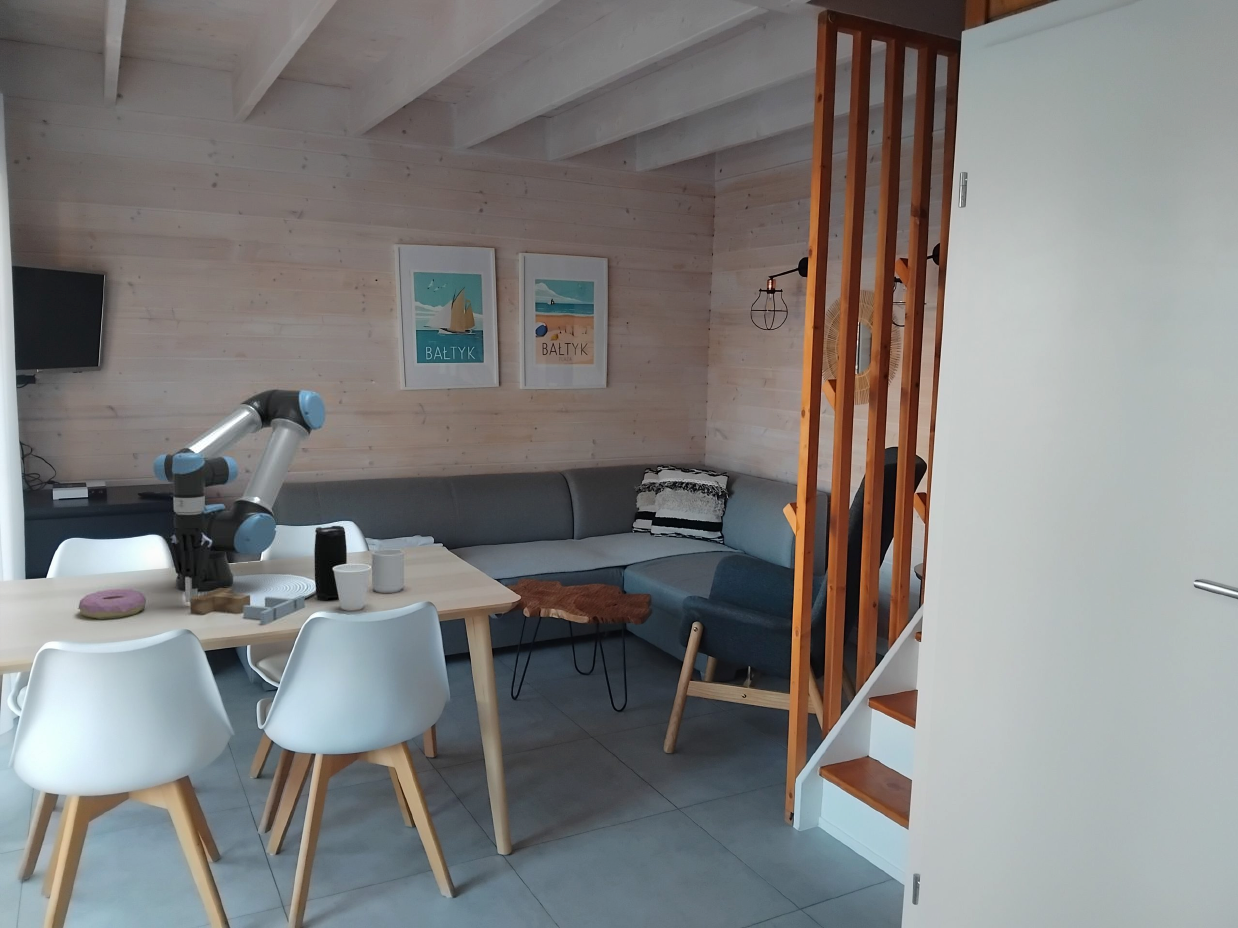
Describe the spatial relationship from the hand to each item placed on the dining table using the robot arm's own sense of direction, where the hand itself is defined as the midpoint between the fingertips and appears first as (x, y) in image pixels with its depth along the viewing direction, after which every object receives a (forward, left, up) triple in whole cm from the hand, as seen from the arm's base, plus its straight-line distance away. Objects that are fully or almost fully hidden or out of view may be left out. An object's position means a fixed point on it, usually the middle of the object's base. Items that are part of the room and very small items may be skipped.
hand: (191, 600), depth 253 cm
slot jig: (+23, 0, -2) cm, 23 cm away
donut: (-15, -11, -2) cm, 19 cm away
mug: (+39, +34, -2) cm, 52 cm away
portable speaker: (+29, +20, -2) cm, 35 cm away
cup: (+40, +12, -2) cm, 42 cm away
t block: (+10, 0, -2) cm, 10 cm away
